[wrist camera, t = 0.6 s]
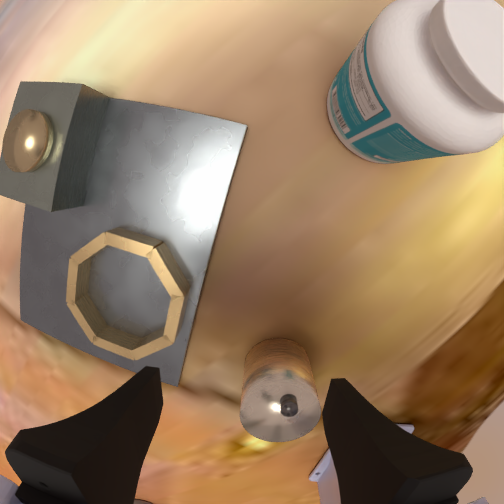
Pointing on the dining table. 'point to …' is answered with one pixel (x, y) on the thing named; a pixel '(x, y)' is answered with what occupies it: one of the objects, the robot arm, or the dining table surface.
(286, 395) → the spout can
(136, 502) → the lotion bottle
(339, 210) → the dining table surface
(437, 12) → the pill bottle
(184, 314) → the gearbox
